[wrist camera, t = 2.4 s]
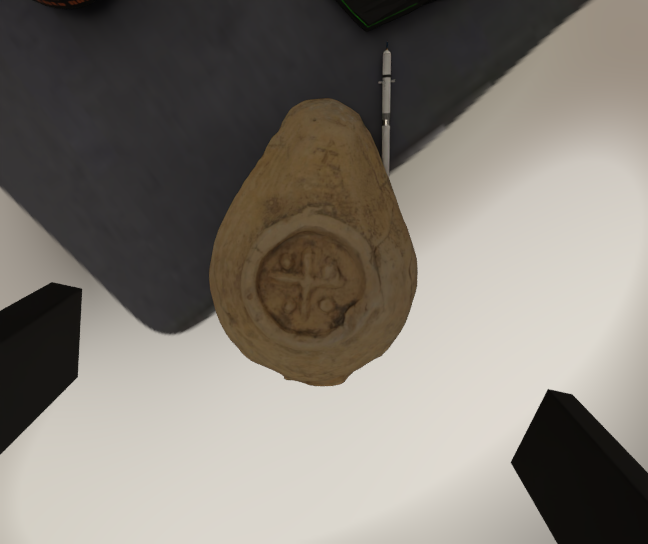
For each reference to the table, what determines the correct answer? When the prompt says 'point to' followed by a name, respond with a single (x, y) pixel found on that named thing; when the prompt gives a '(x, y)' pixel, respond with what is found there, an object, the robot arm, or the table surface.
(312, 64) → the table surface
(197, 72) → the table surface
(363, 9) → the computer mouse
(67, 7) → the beverage can
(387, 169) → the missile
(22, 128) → the table surface
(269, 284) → the oil lamp
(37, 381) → the robot arm
